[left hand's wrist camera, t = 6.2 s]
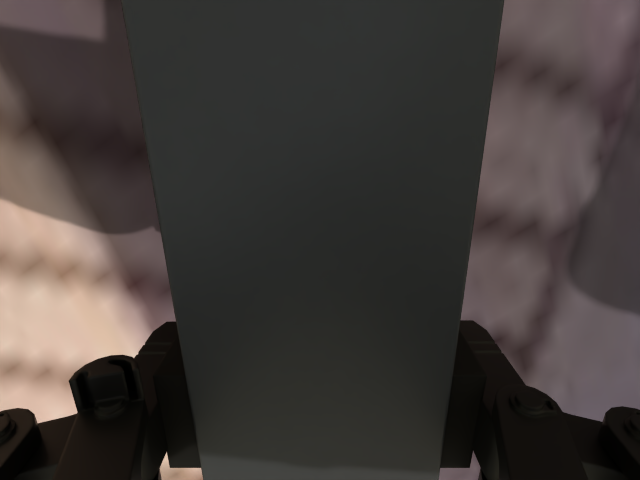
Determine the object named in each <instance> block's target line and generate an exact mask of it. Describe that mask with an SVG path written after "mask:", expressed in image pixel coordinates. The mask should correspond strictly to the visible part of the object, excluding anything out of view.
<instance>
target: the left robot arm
mask: <svg viewBox="0 0 640 480" xmlns="http://www.w3.org/2000/svg"><path fill="white" fill-rule="evenodd" d="M69 383H70V387H71V390H72V394H73V397H74V401H75V404H76V408H77V411H78V413H77V414H74V415H71V416H68V417H64V418H59V419H55V420H51V421H47V422H42V423H38V424H37V421H36V418H35V415H34V414H33V413H32V412H31V411H30V410H28V409H21V408H16V409H9V410H4V411H1V412H0V480H161V474H160V469H159V468H160V466H161V463H162V461H163V459H164V456H165V454H166V452H167V455H168V460H169V465H170V468H201V463H200V457H199V451H198V446H197V440H196V434H195V428H194V422H193V416H192V411H191V405H190V399H189V393H188V387H187V382H186V376H185V370H184V364H183V358H182V352H181V347H180V341H179V335H178V329H177V323H176V322H166V323H164V324H163V325H162V326H160V327H159V328H157V329H156V330H155V331H153V332H152V334H151V335H150V337H149V338H148V340H147V341H146V342H145V345H143V347H142V348H141V349H140V351H139V354H138V355H136V357H135V358H133V357H130V356H126V355H112V356H107V357H103V358H100V359H97V360H95V361H92V362H90V363H88V364H86V365H84V366H83V367H82V368H80V369H79V370H78V371H76V372H75V373H74V375H73V376H72V377H71V379H70V380H69ZM473 451H474V453H475V455H476V458H477V460H478V462H479V465H480V467H481V469H480V474H479V478H478V480H640V410H638V409H635V408H629V407H623V406H622V407H614V408H611V409H610V410H608V411H607V412H606V413H605V416H604V419H603V422H600V421H596V420H592V419H587V418H583V417H579V416H574V415H571V414H567V413H564V412H562V410H561V409H560V407H559V406H558V404H557V403H556V402H555V401H554V400H553V399H552V398H550V397H549V396H548V395H547V394H545V393H543V392H541V391H539V390H537V389H535V388H533V387H529V386H526V385H525V384H524V382H523V381H522V379H521V378H520V376H519V375H518V374H517V372H516V371H515V369H514V368H513V367H512V365H511V364H510V362H509V361H508V360H507V358H506V357H505V355H504V354H503V353H501V350H500V348H499V347H498V346H497V344H495V341H494V340H493V339H492V337H491V336H490V334H489V333H488V332H487V330H486V329H484V328H483V327H481V326H480V325H478V324H477V323H476V322H474V321H460V326H459V333H458V341H457V348H456V355H455V362H454V370H453V377H452V384H451V392H450V399H449V406H448V413H447V421H446V428H445V435H444V443H443V450H442V457H441V464H440V468H470V463H471V458H472V453H473Z"/></svg>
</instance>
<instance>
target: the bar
mask: <svg viewBox="0 0 640 480" xmlns="http://www.w3.org/2000/svg"><path fill="white" fill-rule="evenodd" d="M121 3H122V9H123V15H124V21H125V26H126V32H127V38H128V44H129V50H130V56H131V61H132V67H133V73H134V79H135V85H136V91H137V96H138V102H139V108H140V114H141V120H142V125H143V131H144V137H145V143H146V149H147V155H148V160H149V166H150V172H151V178H152V184H153V189H154V195H155V201H156V207H157V213H158V219H159V224H160V230H161V236H162V242H163V248H164V253H165V259H166V265H167V271H168V277H169V283H170V288H171V294H172V300H173V306H174V312H175V317H176V323H177V329H178V335H179V341H180V347H181V352H182V358H183V364H184V370H185V376H186V382H187V387H188V393H189V399H190V405H191V411H192V416H193V422H194V428H195V434H196V440H197V446H198V451H199V457H200V463H201V469H202V475H203V480H438V479H439V472H440V464H441V457H442V450H443V443H444V435H445V428H446V421H447V413H448V406H449V399H450V392H451V384H452V377H453V370H454V362H455V355H456V348H457V341H458V333H459V326H460V319H461V311H462V304H463V297H464V290H465V282H466V275H467V268H468V260H469V253H470V246H471V239H472V231H473V224H474V217H475V209H476V202H477V195H478V188H479V180H480V173H481V166H482V158H483V151H484V144H485V137H486V129H487V122H488V115H489V107H490V100H491V93H492V86H493V78H494V71H495V64H496V56H497V49H498V42H499V34H500V27H501V20H502V13H503V5H504V0H121Z"/></svg>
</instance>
